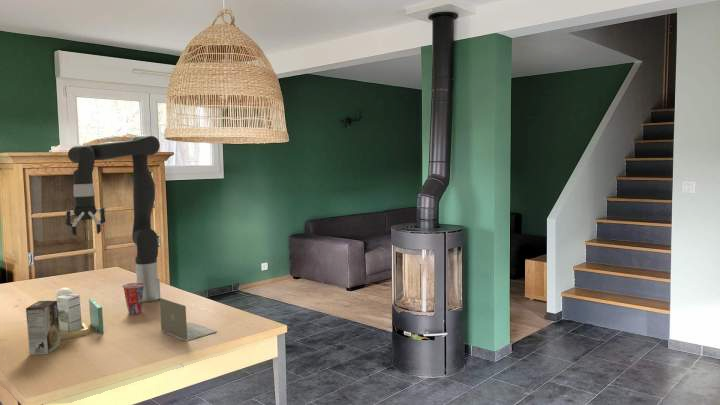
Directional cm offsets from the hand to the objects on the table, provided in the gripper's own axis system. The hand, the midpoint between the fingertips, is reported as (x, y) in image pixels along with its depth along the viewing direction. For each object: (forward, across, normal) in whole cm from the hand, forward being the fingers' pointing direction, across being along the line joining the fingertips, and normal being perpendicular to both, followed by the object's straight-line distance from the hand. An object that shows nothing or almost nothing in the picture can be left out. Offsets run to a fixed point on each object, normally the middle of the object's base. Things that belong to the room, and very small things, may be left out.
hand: (86, 234), depth 223 cm
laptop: (+35, -24, +47) cm, 63 cm away
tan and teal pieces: (+34, +9, +20) cm, 40 cm away
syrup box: (+34, +11, +20) cm, 41 cm away
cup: (+34, -15, +7) cm, 38 cm away
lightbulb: (+34, +8, -12) cm, 37 cm away
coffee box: (+34, +21, +34) cm, 53 cm away
